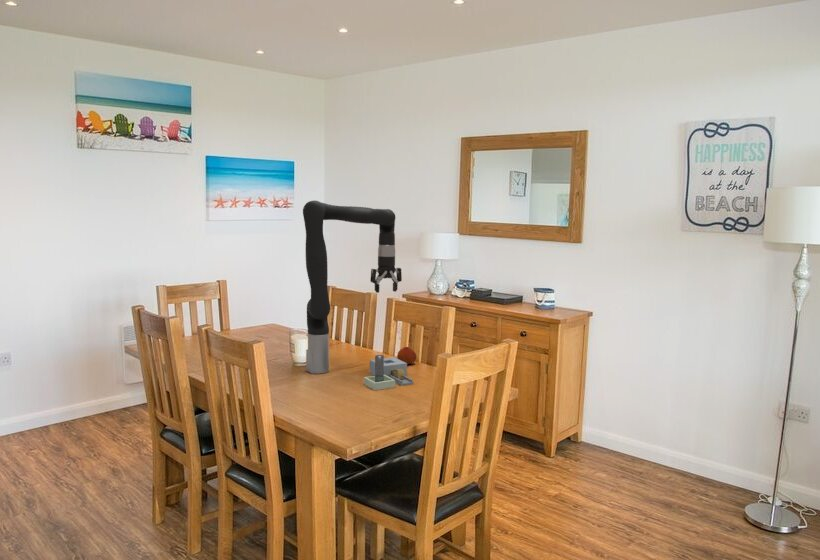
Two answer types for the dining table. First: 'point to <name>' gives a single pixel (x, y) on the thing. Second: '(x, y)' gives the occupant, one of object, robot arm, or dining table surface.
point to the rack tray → (379, 383)
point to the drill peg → (379, 368)
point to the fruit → (406, 355)
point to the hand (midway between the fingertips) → (386, 291)
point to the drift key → (398, 373)
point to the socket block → (392, 365)
